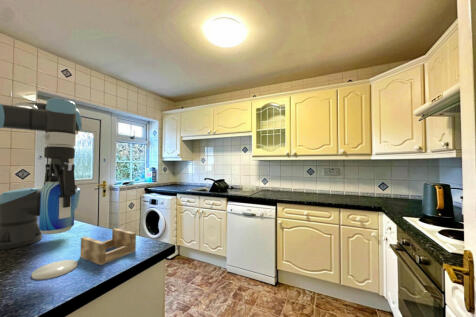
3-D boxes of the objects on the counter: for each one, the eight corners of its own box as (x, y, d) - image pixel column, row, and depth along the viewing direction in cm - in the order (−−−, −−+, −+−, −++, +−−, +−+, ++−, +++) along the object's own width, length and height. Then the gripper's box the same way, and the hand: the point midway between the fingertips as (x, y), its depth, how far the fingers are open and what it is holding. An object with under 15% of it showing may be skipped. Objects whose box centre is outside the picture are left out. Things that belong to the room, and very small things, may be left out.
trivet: (25, 273, 63) (25, 271, 63) (67, 259, 72) (67, 257, 72) (40, 283, 58) (40, 281, 58) (84, 266, 67) (84, 264, 67)
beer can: (53, 236, 60) (55, 182, 61) (31, 234, 62) (33, 182, 63) (80, 227, 69) (81, 180, 69) (60, 226, 70) (62, 180, 71)
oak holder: (80, 257, 74) (81, 237, 74) (115, 244, 86) (115, 228, 86) (100, 265, 68) (101, 244, 68) (135, 250, 80) (135, 233, 80)
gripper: (31, 147, 68) (28, 214, 67) (61, 144, 58) (59, 223, 57) (59, 148, 74) (56, 210, 74) (90, 146, 65) (88, 217, 64)
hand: (57, 215), depth 65 cm, fingers closed on beer can, 8 cm apart
